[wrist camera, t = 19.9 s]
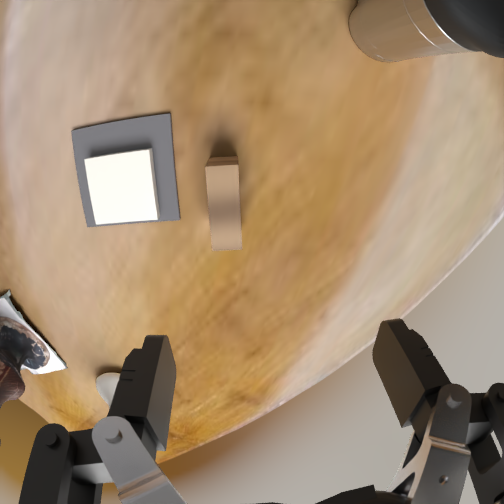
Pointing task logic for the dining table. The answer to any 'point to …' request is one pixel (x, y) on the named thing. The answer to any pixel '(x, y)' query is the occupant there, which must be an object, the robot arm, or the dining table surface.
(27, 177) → the dining table surface
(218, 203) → the brown rectangular block
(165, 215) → the mat
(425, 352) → the robot arm
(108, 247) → the dining table surface
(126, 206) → the tile
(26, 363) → the head bust
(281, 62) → the dining table surface
